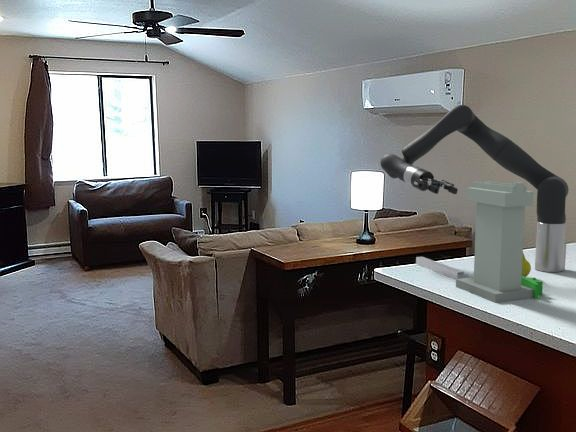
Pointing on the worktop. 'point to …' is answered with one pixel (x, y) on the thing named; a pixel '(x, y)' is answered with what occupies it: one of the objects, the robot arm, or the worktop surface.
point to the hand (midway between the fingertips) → (447, 191)
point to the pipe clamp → (533, 285)
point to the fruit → (525, 267)
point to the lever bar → (440, 268)
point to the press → (498, 241)
